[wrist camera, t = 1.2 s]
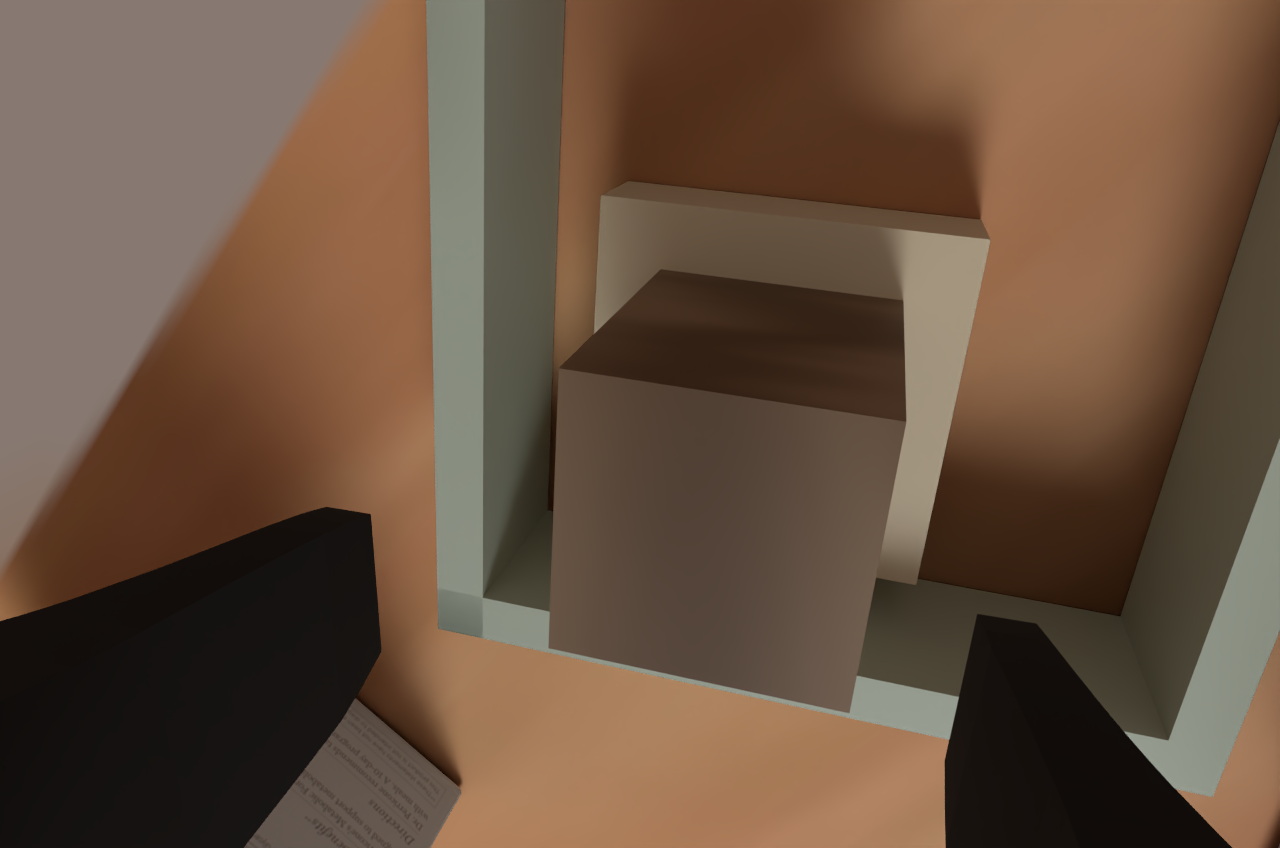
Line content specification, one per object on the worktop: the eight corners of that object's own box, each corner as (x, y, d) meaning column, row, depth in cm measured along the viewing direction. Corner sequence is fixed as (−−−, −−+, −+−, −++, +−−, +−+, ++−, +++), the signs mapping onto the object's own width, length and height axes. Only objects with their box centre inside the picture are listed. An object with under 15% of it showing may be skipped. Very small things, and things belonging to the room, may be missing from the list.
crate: (1384, 12, 15) (1532, 4, 12) (1157, 664, 20) (1212, 797, 17) (517, -42, 18) (425, -63, 15) (508, 538, 23) (437, 628, 20)
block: (903, 300, 17) (906, 422, 12) (862, 520, 19) (849, 713, 13) (660, 269, 18) (558, 368, 12) (643, 481, 20) (548, 648, 14)
